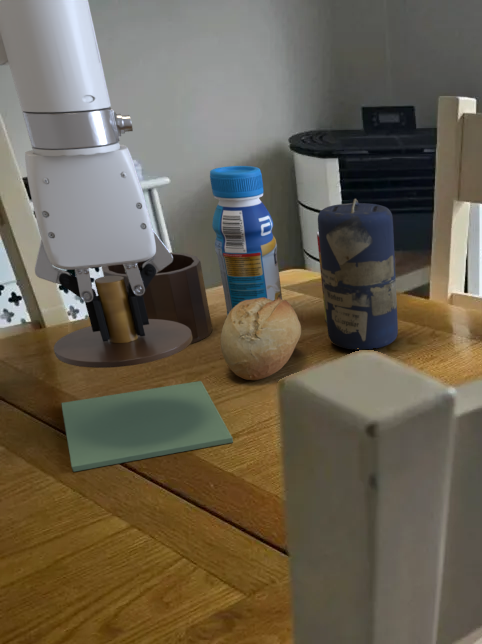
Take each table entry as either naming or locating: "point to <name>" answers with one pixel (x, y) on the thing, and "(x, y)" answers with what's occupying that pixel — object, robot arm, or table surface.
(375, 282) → the blue pillar candle
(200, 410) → the mat
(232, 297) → the beverage bottle
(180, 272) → the basket
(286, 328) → the bread roll
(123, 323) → the lid
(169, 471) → the table surface
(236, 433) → the table surface
